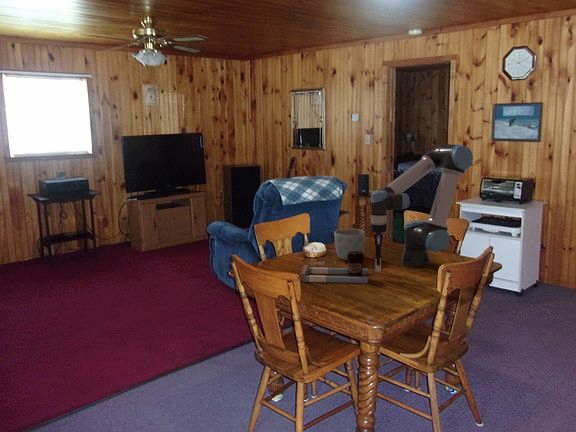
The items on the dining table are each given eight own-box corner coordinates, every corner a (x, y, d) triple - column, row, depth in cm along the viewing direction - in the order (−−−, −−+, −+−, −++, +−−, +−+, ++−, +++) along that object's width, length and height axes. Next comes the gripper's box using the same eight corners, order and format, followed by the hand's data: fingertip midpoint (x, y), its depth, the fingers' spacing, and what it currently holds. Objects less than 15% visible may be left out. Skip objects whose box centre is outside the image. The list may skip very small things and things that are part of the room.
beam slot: (367, 273, 264) (367, 265, 264) (367, 283, 250) (367, 274, 249) (304, 272, 269) (304, 264, 268) (300, 281, 255) (300, 273, 254)
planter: (357, 264, 281) (357, 236, 278) (329, 260, 290) (328, 233, 287) (370, 256, 295) (370, 230, 292) (342, 253, 304) (342, 227, 301)
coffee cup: (363, 281, 253) (363, 254, 251) (346, 280, 255) (346, 254, 252) (364, 275, 261) (364, 250, 259) (347, 275, 263) (347, 249, 261)
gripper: (370, 220, 258) (370, 266, 262) (370, 226, 245) (370, 274, 250) (386, 220, 257) (385, 267, 261) (387, 226, 244) (386, 275, 249)
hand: (377, 270), depth 256 cm, fingers closed
